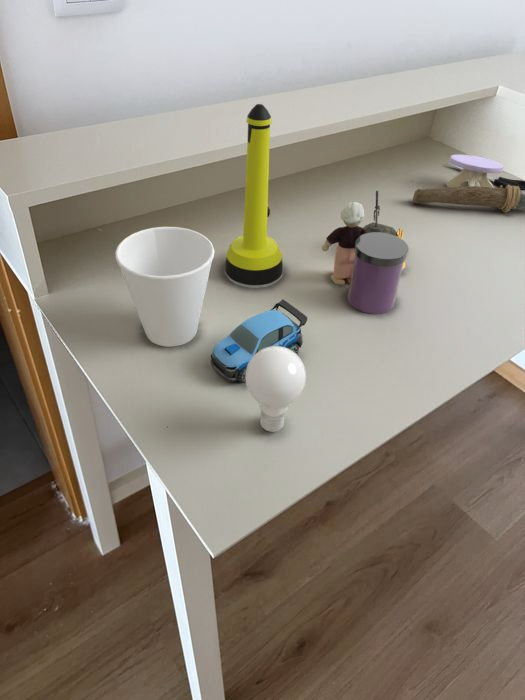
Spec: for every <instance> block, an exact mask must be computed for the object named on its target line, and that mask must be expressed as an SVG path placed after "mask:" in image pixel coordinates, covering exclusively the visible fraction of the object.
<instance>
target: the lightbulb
mask: <svg viewBox="0 0 525 700" xmlns="http://www.w3.org/2000/svg"><path fill="white" fill-rule="evenodd" d="M245 380H246V382H245V384H246V388H247V390H248V392H249V393H250V395H251V396H252V397H253V399H254V400H255V401H257V404H258V407H259V410H260V420H259V421H260V422H259V423H260V426H261V428H262V429H264V430H265V431H267V432H272V433H273V432H279V431H281V430H282V429H283V428H284V427H285V420H286V419H285V418H286V412H287V411H288V409H289V407H290V405H291V404H293V403H294V401H296V400H297V399H298V398H299V397H300V396H301V394H302V393H303V391H304V389H305V386H306V381H307V371H306V367H305V364H304V362H303V360H302V359H301V357H300V356H299V355H298V353H297V354H296V353H295V352H293V351H292V350H290V349H288V348H285V347H282V346H270V347H266V348H263V349H261V350H260V351H258V352H257V353H256V354H255V355H254V356H253V357H252V358H251V359H250V361H249V363H248V365H247V368H246V373H245Z"/></svg>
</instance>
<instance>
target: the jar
mask: <svg viewBox="0 0 525 700" xmlns="http://www.w3.org/2000/svg"><path fill="white" fill-rule="evenodd" d="M354 252H355V257H354V263H353V269H352V275H351V281H350V283H349V288H348V293H347V300H348V302H349V304H350V305H351V306H352V307H353V308H354V309H356V310H358V311H360V312H361V313H362V312H363V313H366V314H372V315H379V314H384V313H388V312H389V311H391V310H392V309H393V308H394V307H395V302H396V299H397V298H396V297H397V296H398V295H397V293H398V290H399V285H400V281H401V277H402V273H403V270H404V269H403V264H404V261H405V262H406V260H407V257H408V252H409V245H408V244H407V242H406V241H404V240H403V238H402V239H400V238H399V237H397V236H394V235H391V234H387V233H381V232H372V233H366V234H363V235H361V236H359V237H358V238H357V239H356V242H355V248H354ZM402 269H403V270H402Z"/></svg>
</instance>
